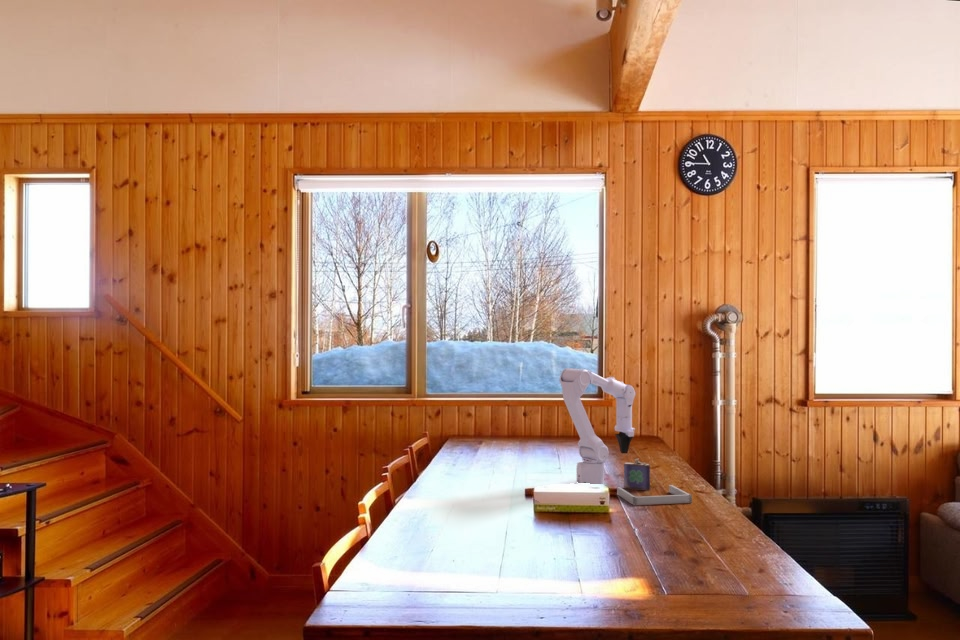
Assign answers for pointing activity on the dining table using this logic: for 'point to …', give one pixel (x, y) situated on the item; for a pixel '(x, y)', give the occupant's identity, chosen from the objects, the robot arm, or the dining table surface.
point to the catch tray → (657, 497)
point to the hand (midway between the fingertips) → (624, 453)
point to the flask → (637, 475)
